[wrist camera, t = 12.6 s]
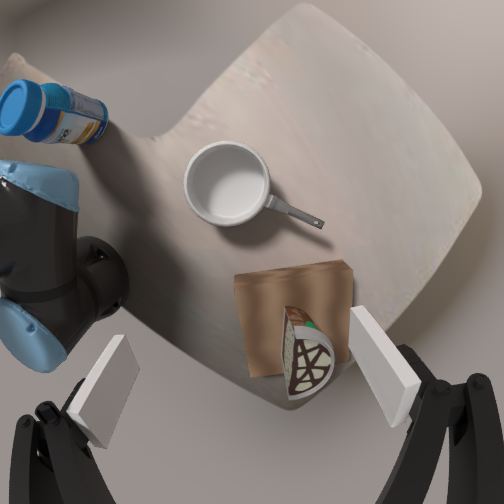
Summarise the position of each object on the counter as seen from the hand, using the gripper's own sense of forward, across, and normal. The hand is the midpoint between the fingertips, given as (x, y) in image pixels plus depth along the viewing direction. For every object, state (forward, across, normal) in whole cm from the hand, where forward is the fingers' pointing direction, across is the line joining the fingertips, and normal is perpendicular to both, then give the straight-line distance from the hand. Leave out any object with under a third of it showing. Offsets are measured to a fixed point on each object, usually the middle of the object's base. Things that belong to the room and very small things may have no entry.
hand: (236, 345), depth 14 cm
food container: (+24, +7, -16) cm, 30 cm away
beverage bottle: (+29, -23, +23) cm, 43 cm away
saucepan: (+29, +3, +6) cm, 30 cm away
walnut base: (+29, +7, -16) cm, 34 cm away
